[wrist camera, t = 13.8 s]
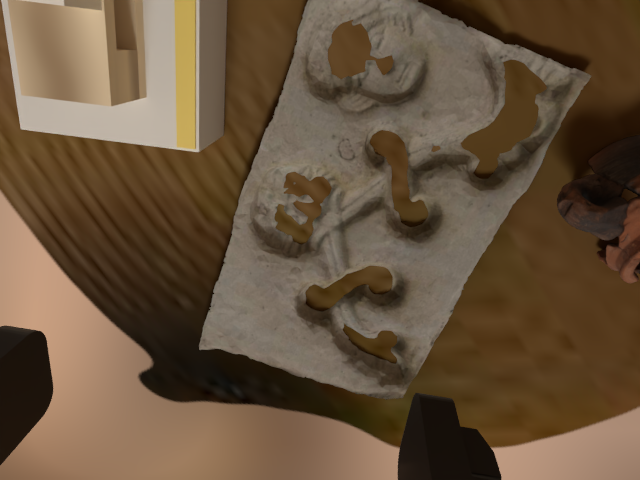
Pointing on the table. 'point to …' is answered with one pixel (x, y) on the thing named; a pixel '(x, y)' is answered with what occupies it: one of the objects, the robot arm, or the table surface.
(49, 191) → the table surface
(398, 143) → the table surface
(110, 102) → the tan long block
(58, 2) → the cream white block
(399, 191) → the table surface
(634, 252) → the pottery mug
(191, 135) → the white rectangular box
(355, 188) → the stone relief
